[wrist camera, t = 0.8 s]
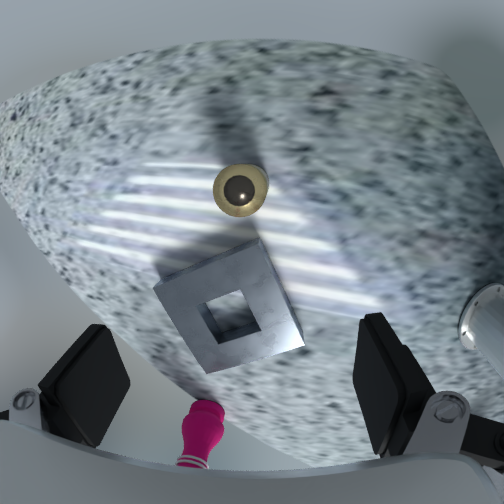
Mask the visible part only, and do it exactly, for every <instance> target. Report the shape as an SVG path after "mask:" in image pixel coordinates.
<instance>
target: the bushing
mask: <svg viewBox="0 0 504 504" xmlns="http://www.w3.org/2000/svg"><path fill="white" fill-rule="evenodd" d="M268 189H269V179H268V176H267V174H266V172H265V171H264V170H263V169H262V168H260V167H259V166H257V165H253V164H234V165H231V166H228V167H226V168H225V169H223V170H222V171H221V172H220V173H219V174H218V175H217V177H216V179H215V181H214V185H213V196H214V199H215V202H216V204H217V205H218V207H219V208H220V209H221V210H222V211H223V212H225V213H226V214H228V215H231V216H234V217H245V216H249V215H251V214H253V213H255V212H256V211H257V210H258V209H259V208H260V207H261V206H262V204H263V203H264V200H265V198H266V195H267V192H268Z"/></svg>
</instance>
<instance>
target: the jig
mask: <svg viewBox="0 0 504 504" xmlns="http://www.w3.org/2000/svg"><path fill="white" fill-rule="evenodd" d="M153 289H154V291H155V293H156V295H157V296H158V298H159V300H160V302H161V303H162V305H163V307H164V308H165V310H166V312H167V313H168V315H169V317H170V318H171V320H172V322H173V323H174V325H175V327H176V328H177V330H178V331H179V333H180V335H181V336H182V338H183V339H184V341H185V342H186V344H187V346H188V347H189V349H190V350H191V352H192V353H193V355H194V356H195V358H196V359H197V361H198V362H199V364H200V365H201V367H202V368H203V370H204V371H205V372H206V374H208V373H212V372H216V371H220V370H224V369H228V368H231V367H235V366H239V365H242V364H246V363H249V362H253V361H256V360H260V359H263V358H266V357H269V356H273V355H276V354H279V353H282V352H285V351H288V350H291V349H294V348H297V347H300V346H303V345H304V336H303V332H302V329H301V327H300V325H299V323H298V320H297V318H296V316H295V314H294V311H293V309H292V307H291V305H290V302H289V300H288V298H287V296H286V293H285V291H284V289H283V287H282V285H281V282H280V280H279V278H278V276H277V274H276V271H275V269H274V267H273V265H272V262H271V260H270V258H269V256H268V254H267V251H266V249H265V247H264V245H263V243H262V241H261V238H260V237H259V238H257V239H255V240H252V241H250V242H247V243H245V244H243V245H240V246H238V247H236V248H233V249H231V250H228V251H226V252H224V253H221V254H219V255H217V256H214V257H212V258H210V259H207V260H205V261H203V262H200V263H198V264H195V265H193V266H191V267H188V268H186V269H184V270H181V271H179V272H177V273H174V274H172V275H170V276H167V277H165V278H163V279H161V280H160V281H159V282H158V283H157V284H156V285H155V286H154V287H153ZM239 289H241V291H242V293H243V295H244V297H245V299H246V301H247V303H248V305H249V307H250V309H251V311H252V313H253V315H254V317H255V319H256V322H253V323H250V324H247V325H244V326H241V327H238V328H235V329H232V330H229V331H226V332H223V333H222V332H221V330H220V328H219V327H218V325H217V323H216V321H215V320H214V318H213V316H212V314H211V313H210V311H209V309H208V307H207V305H206V304H205V302H207V301H210V300H213V299H215V298H218V297H221V296H223V295H226V294H229V293H231V292H234V291H237V290H239Z"/></svg>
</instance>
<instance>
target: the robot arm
mask: <svg viewBox="0 0 504 504" xmlns="http://www.w3.org/2000/svg"><path fill="white" fill-rule="evenodd" d="M458 335H459V339H460V341H461V343H462V344H463V345H464V347H466V348H467V349H471V350H475V349H479V351H480V352H481V353H482V354H483V355H484V356H485V358H486V359H487V360H488V361H489V363H490V364H491V365H492V366H493V367H494V369H495V370H496V371H497V372H498V374H499V375H500V376H501V378H502V379H503V380H504V286H503V285H502V284H500V283H492V284H489V285H487V286H485V287H483V288H482V289H481V290H480V291H478V292H477V293H476V294H475V295H474V296H473V298H472V299H471V300H470V302H469V303H468V305H467V306H466V308H465V310H464V312H463V314H462V316H461V320H460V323H459V328H458ZM353 385H354V388H355V391H356V394H357V397H358V401H359V404H360V407H361V410H362V414H363V417H364V420H365V423H366V427H367V430H368V434H369V437H370V441H371V444H372V448H373V451H374V453H375V454H376V455H377V454H380V459H374V460H368V461H362V462H356V463H350V464H343V465H336V466H328V467H319V468H308V469H296V470H279V471H231V470H230V471H229V470H213V469H201V468H191V467H183V466H175V465H167V464H162V463H155V462H150V461H145V460H140V459H135V458H130V457H126V456H122V455H118V454H113V453H110V452H106V451H102V450H98V449H95V448H96V446H99V445H100V443H101V441H102V439H103V437H104V435H105V433H106V431H107V429H108V427H109V426H110V424H111V422H112V420H113V418H114V416H115V414H116V412H117V410H118V408H119V406H120V404H121V403H122V401H123V399H124V397H125V395H126V393H127V391H128V389H129V387H130V379H129V377H128V374H127V372H126V369H125V367H124V364H123V362H122V360H121V357H120V355H119V352H118V349H117V347H116V344H115V342H114V339H113V336H112V333H111V331H110V329H108V328H107V327H106V326H105V325H101V324H92V325H90V326H89V327H88V328H87V329H86V330H85V331H84V333H83V334H82V335H81V336H80V337H79V338H78V339H77V340H76V341H75V342H74V343H73V345H72V346H71V347H70V348H69V349H68V350H67V351H66V353H65V354H64V355H63V356H62V357H61V358H60V359H59V361H58V362H57V363H56V364H55V365H54V366H53V367H52V369H51V370H50V371H49V372H48V373H47V374H46V376H45V377H44V378H43V379H42V380H41V381H40V383H39V384H38V386H39V388H40V390H41V391H42V392H41V393H40V394H39V393H38V392H37V390H35V389H33V388H26V389H22V390H20V391H19V392H17V393H16V394H15V395H14V396H13V397H12V399H11V401H10V406H9V410H6V411H3V412H0V504H504V423H500V422H497V421H493V420H490V419H486V418H483V417H479V416H476V415H473V414H470V405H469V402H468V401H467V400H466V398H465V397H463V396H462V395H461V394H459V393H456V392H453V391H441V392H438V393H436V392H435V390H434V388H433V387H432V385H431V383H430V382H429V380H428V378H427V377H426V375H425V373H424V372H423V370H422V368H421V367H420V365H419V364H418V362H417V360H416V359H415V357H414V356H413V354H412V352H411V351H410V349H409V348H408V347H407V345H402V343H401V342H400V340H399V339H398V337H397V335H396V334H395V332H394V331H393V329H392V328H391V326H390V325H389V323H388V321H387V320H386V318H385V317H384V315H383V314H382V313H381V312H379V313H372V314H366V315H365V317H364V319H360V322H359V331H358V340H357V348H356V356H355V363H354V370H353Z"/></svg>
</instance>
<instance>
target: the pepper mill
mask: <svg viewBox="0 0 504 504" xmlns="http://www.w3.org/2000/svg"><path fill="white" fill-rule="evenodd" d="M224 416H225V412H224V410H223V408H222V407H221V406H220V405H219V404H217V403H215V402H212V401H209V400H198V401H195V402H194V403H193V404H192V405H191V408H190V411H189V414H188V415H187V416H186V417H185V418H184V419H183V423H182V435H183V440H184V450H183V453H182V455H181V456H179V457H178V458H177V462H176V466H183V467H191V468H201V469H208V468H209V465H208V464H207V458H208V455H209V453H210V451H211V450H212V449H213V447H214V446H215V445H216V444H217V443H218V442H219V441H220V439H221V438H222V436H223V432H224V426H223V424H222V423H223V420H224Z"/></svg>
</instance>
